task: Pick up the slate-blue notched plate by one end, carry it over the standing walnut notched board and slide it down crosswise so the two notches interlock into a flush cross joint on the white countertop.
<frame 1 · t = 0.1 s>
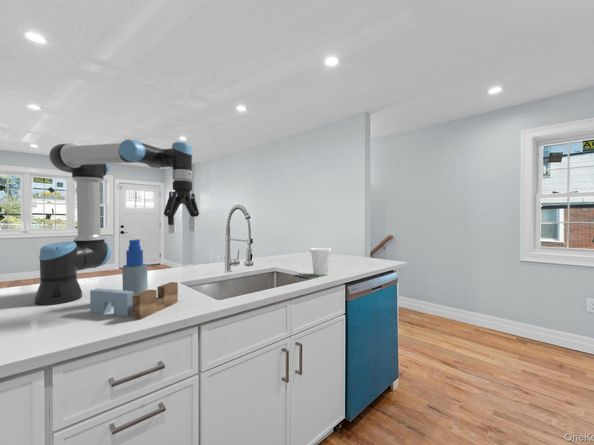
hand: (182, 232, 121), 28 cm above the table, fingers open, 13 cm apart
slotted stand: (157, 309, 108), on the table
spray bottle: (135, 300, 120), on the table
slotted plate: (112, 313, 105), on the table
cup: (320, 274, 172), on the table
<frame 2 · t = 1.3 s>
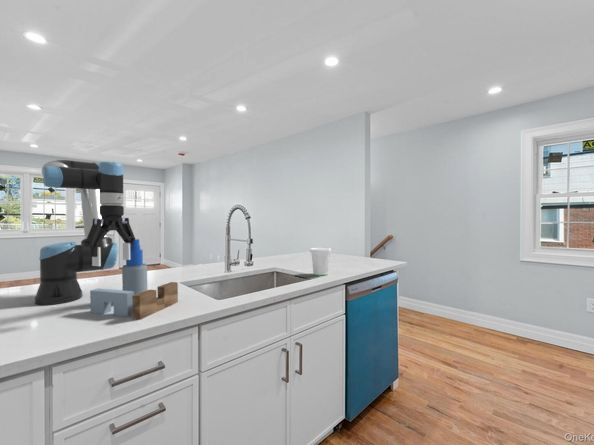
hand: (112, 262, 108), 18 cm above the table, fingers open, 13 cm apart
nothing on the table moved.
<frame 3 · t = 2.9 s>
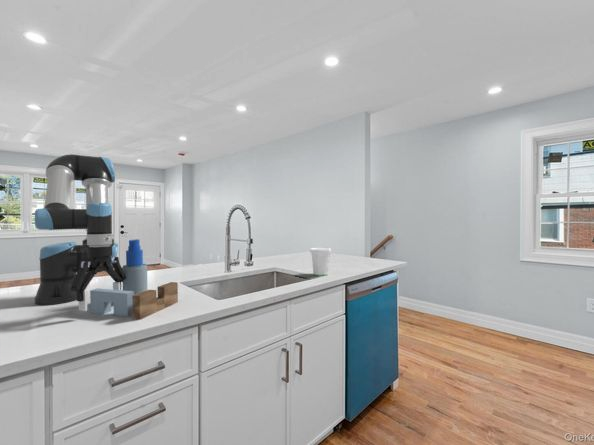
hand: (101, 304, 105), 3 cm above the table, fingers open, 13 cm apart
nothing on the table moved.
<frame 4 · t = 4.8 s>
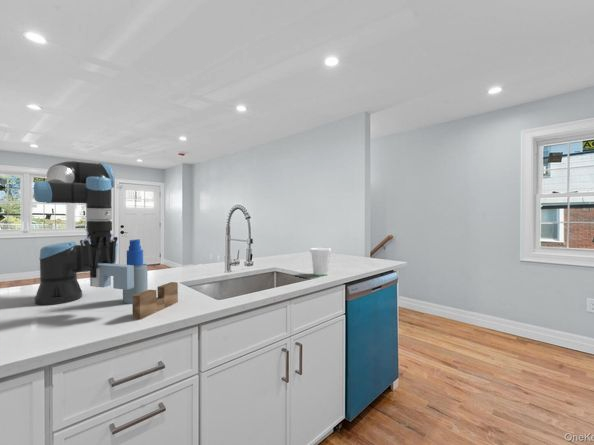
hand: (100, 284, 106), 10 cm above the table, fingers closed on slotted plate, 3 cm apart
slotted plate: (112, 286, 105), point 9 cm above the table, touching gripper
everything else where it was.
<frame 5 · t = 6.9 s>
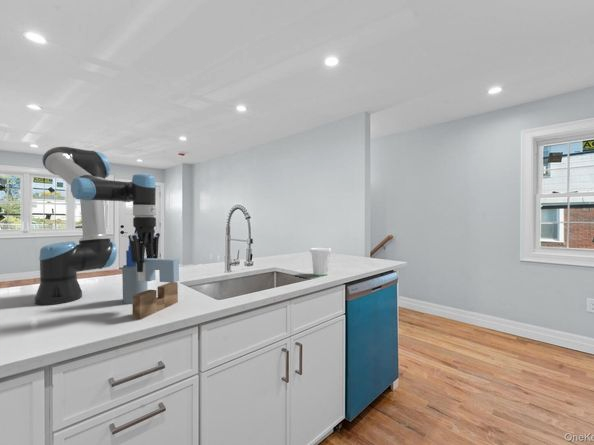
hand: (145, 279, 109), 11 cm above the table, fingers closed on slotted plate, 3 cm apart
slotted plate: (157, 280, 108), point 11 cm above the table, touching gripper
everything else where it was.
when the fingers open (1 cm above the table, at t = 9.2 s): slotted plate stays where it is, on the table.
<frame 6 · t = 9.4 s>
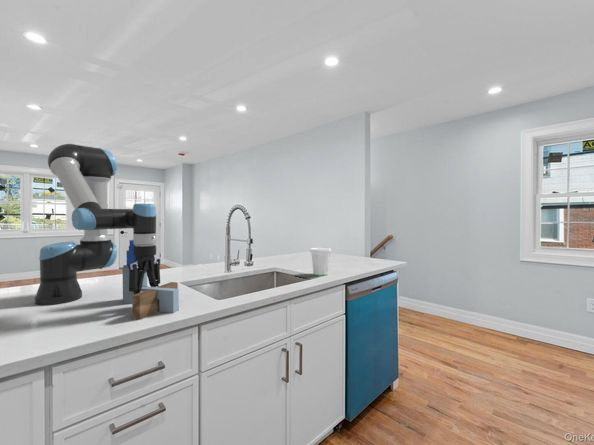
hand: (145, 306, 109), 1 cm above the table, fingers open, 6 cm apart
slotted plate: (157, 309, 108), on the table
everything else where it was.
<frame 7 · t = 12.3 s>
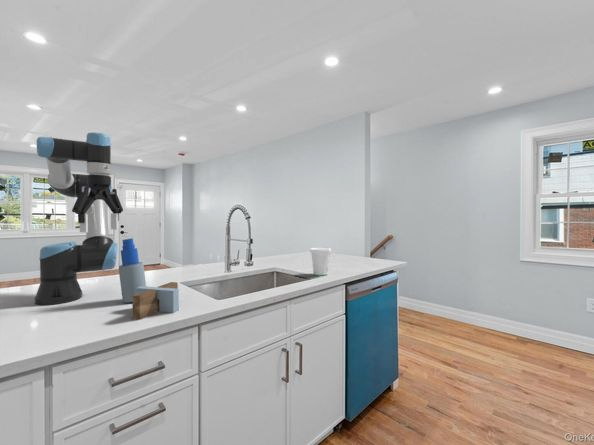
hand: (100, 230, 112), 29 cm above the table, fingers open, 13 cm apart
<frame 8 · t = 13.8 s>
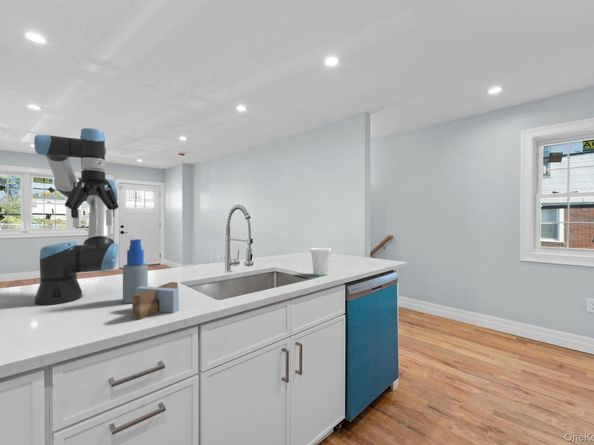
hand: (94, 226, 112), 31 cm above the table, fingers open, 13 cm apart
at the end: slotted plate 0.1 cm off-centre on the slotted stand, point 0.0 cm above the slotted stand's base; slotted plate tilted 0°; the gripper is holding nothing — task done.
